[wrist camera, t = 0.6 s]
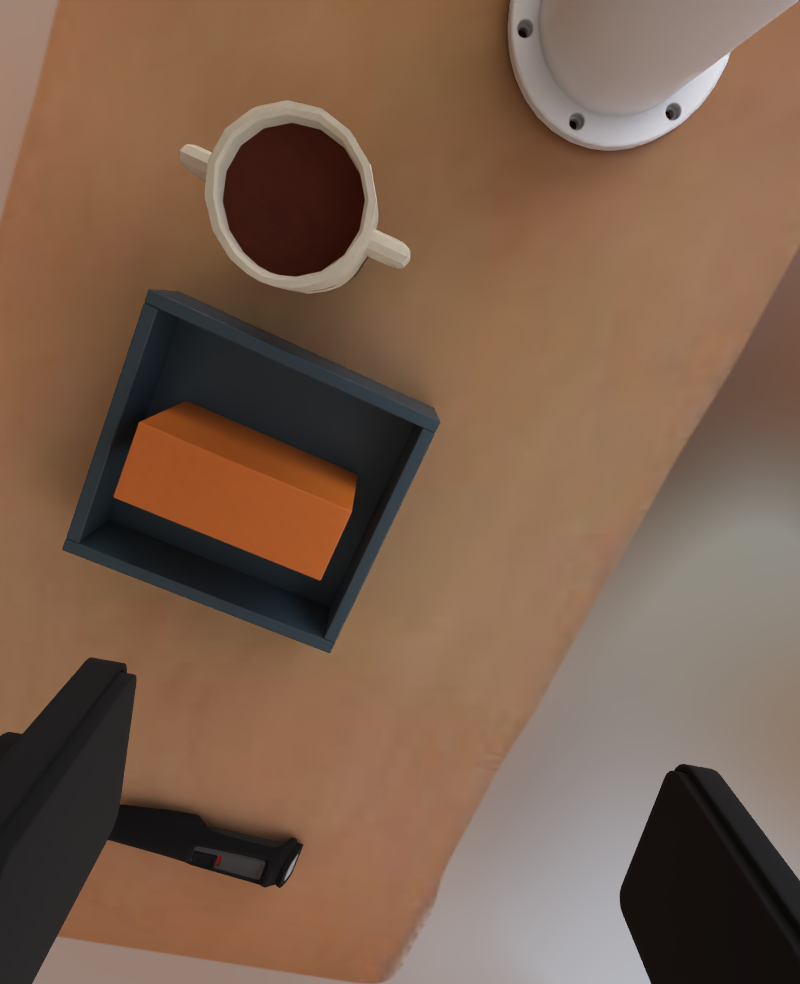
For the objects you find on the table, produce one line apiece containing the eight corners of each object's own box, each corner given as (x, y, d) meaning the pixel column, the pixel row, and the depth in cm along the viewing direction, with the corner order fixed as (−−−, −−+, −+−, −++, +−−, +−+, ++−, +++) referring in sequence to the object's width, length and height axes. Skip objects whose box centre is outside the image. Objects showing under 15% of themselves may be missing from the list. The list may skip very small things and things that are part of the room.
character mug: (216, 253, 38) (134, 226, 26) (256, 134, 36) (188, 41, 24) (380, 327, 39) (378, 335, 27) (427, 215, 38) (447, 169, 25)
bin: (177, 291, 39) (148, 288, 34) (434, 408, 41) (441, 421, 36) (98, 523, 43) (61, 550, 38) (335, 617, 45) (329, 653, 40)
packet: (186, 400, 40) (138, 421, 32) (358, 474, 42) (352, 511, 34) (163, 462, 41) (112, 497, 33) (331, 532, 43) (320, 581, 35)
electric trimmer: (117, 782, 49) (99, 813, 46) (306, 836, 50) (300, 870, 47) (106, 819, 50) (87, 852, 47) (291, 871, 51) (285, 906, 48)
